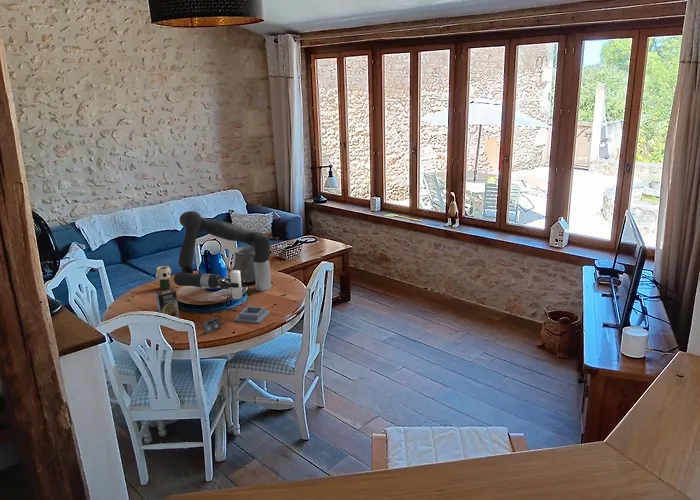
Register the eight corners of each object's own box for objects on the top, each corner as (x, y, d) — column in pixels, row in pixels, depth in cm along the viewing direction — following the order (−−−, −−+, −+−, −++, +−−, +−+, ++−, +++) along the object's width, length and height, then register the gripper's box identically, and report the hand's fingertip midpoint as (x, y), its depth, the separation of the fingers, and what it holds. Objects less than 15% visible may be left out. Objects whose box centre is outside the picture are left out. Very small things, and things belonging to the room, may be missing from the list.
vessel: (273, 275, 343) (271, 244, 337) (257, 287, 322) (254, 255, 317) (242, 272, 349) (239, 242, 343) (224, 284, 329) (221, 252, 323)
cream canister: (235, 295, 283) (232, 269, 279) (244, 296, 282) (241, 270, 278) (230, 298, 278) (228, 272, 274) (239, 299, 277) (237, 273, 273)
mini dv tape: (219, 328, 269) (218, 316, 267) (220, 329, 268) (219, 317, 266) (204, 333, 263) (202, 321, 262) (205, 334, 262) (204, 322, 261)
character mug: (162, 292, 319) (159, 271, 315) (154, 290, 322) (151, 269, 319) (176, 286, 328) (174, 265, 324) (168, 284, 331) (166, 264, 328)
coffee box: (162, 325, 273) (158, 295, 269) (158, 321, 278) (154, 291, 274) (180, 320, 279) (176, 291, 274) (175, 316, 284) (172, 287, 279)
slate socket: (246, 310, 289) (245, 304, 288) (270, 312, 285) (270, 306, 284) (234, 321, 276) (233, 314, 275) (259, 323, 273) (259, 317, 272)
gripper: (203, 279, 274) (233, 281, 269) (217, 270, 287) (246, 272, 283) (204, 293, 276) (235, 295, 272) (218, 283, 289) (248, 285, 285)
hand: (240, 283), depth 277 cm, fingers closed on cream canister, 5 cm apart
